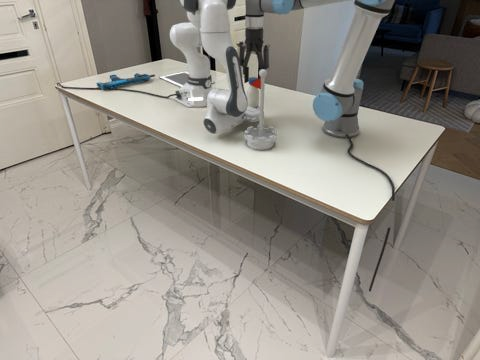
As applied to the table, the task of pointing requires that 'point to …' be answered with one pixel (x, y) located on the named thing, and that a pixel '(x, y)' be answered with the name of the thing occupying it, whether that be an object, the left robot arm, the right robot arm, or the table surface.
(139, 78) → the submachine gun
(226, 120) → the left robot arm
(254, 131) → the flag stand
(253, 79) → the cap
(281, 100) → the table surface
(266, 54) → the right robot arm
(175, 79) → the tablet
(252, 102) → the bottle
